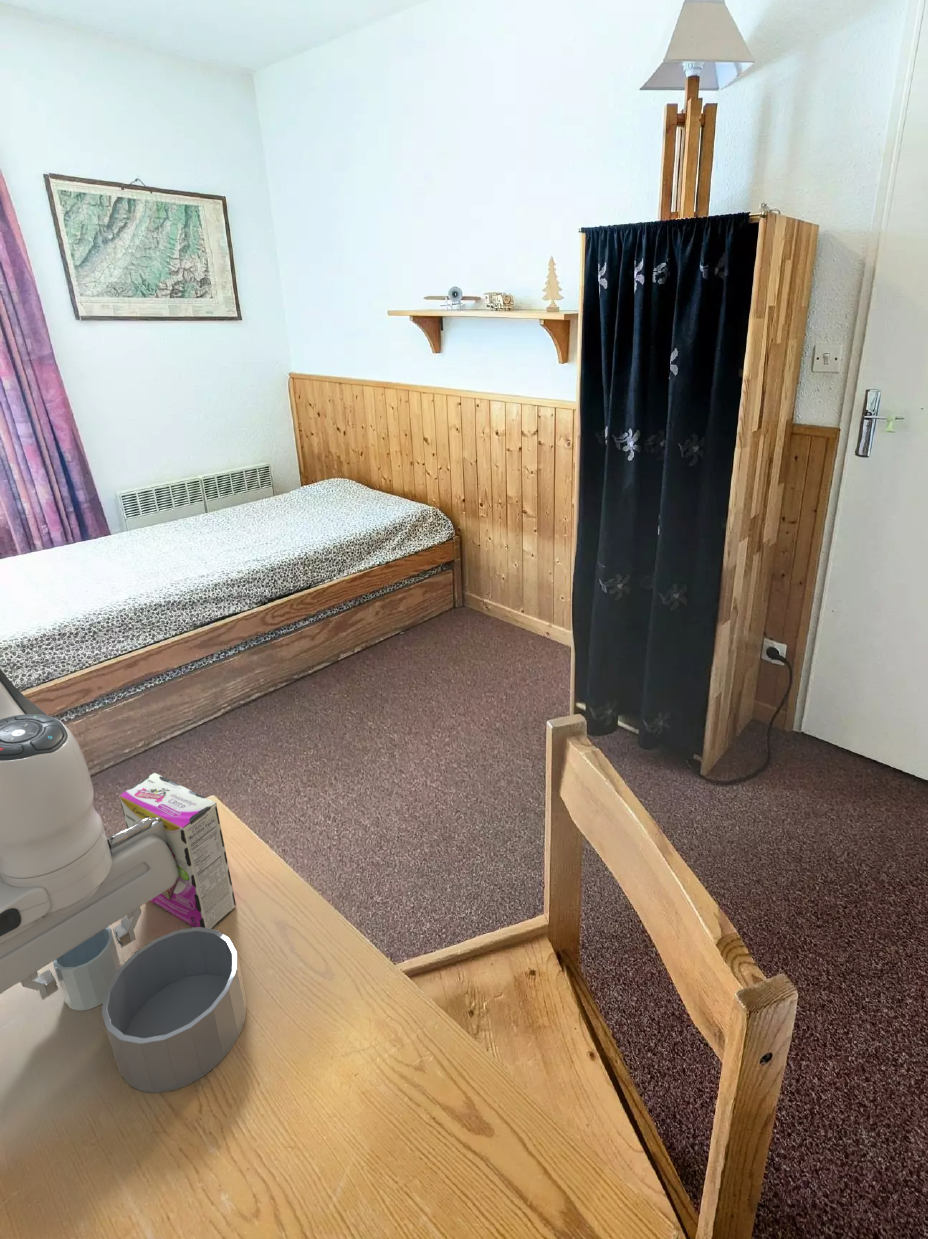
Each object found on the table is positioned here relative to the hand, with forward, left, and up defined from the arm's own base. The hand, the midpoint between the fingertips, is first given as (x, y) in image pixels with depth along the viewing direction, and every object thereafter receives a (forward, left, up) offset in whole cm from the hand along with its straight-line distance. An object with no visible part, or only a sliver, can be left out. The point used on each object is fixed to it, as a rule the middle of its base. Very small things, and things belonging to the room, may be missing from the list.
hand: (88, 965), depth 72 cm
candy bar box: (-3, +12, -3) cm, 13 cm away
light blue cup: (0, 0, -3) cm, 3 cm away
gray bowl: (+12, +4, -3) cm, 13 cm away
